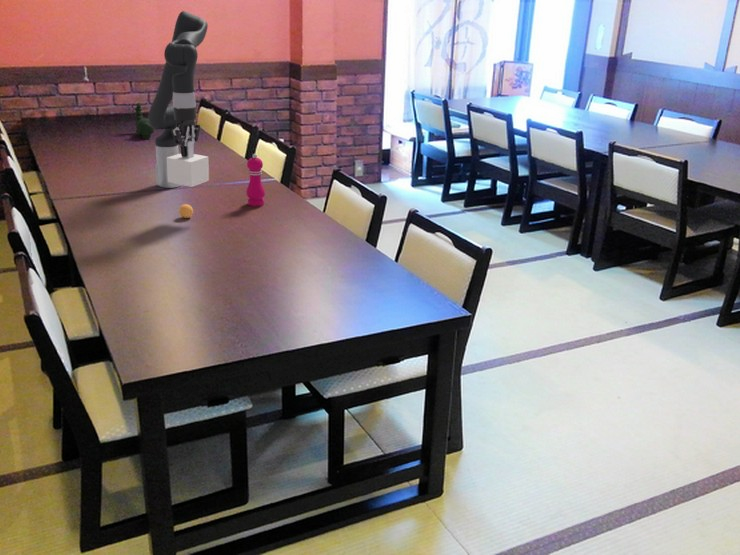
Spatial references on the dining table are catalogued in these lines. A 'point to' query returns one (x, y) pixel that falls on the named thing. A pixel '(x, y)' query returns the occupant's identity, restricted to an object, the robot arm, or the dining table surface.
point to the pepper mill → (255, 182)
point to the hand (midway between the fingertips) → (187, 155)
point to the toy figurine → (142, 124)
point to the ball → (186, 211)
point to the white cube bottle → (188, 168)
